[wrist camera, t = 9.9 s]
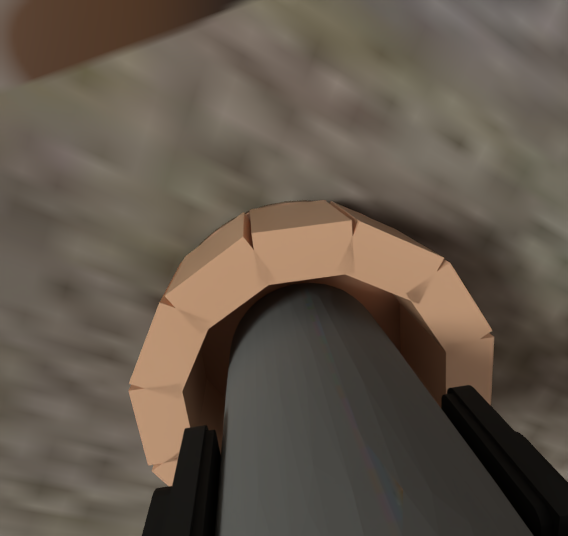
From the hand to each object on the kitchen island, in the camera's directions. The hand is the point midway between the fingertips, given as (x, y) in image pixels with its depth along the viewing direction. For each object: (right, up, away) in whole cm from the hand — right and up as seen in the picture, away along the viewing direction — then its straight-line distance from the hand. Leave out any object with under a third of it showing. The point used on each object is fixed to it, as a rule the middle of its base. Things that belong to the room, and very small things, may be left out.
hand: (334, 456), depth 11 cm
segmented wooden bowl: (-1, +2, +6) cm, 7 cm away
